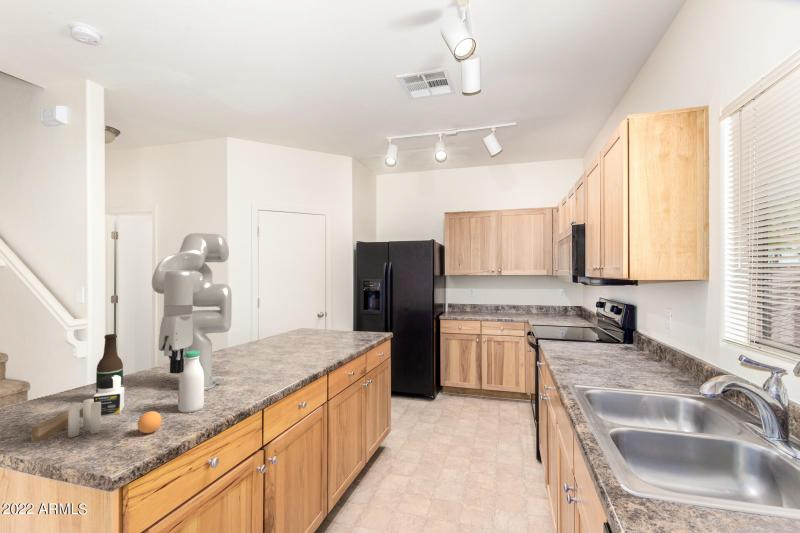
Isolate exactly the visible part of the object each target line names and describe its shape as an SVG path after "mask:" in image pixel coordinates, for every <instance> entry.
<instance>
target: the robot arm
mask: <svg viewBox="0 0 800 533" xmlns="http://www.w3.org/2000/svg"><path fill="white" fill-rule="evenodd" d="M229 254H230V250H229V245H228V242H227V240H226V238H225V237H224V236H223V235H221V234H218V233H200V232H199V233H198V232H195V233H193V232H192V233H190V234H187V235H186V236H185V237H184V238H183V240H182V243H181V246H180V249H179V250H178V252H177V253H174V254H172V255H170V256H167V257H165V258H164V259H161V261H160V262H158V264H157V265H156V268H155V270H154V271H153V274H152V277H151V287H152V289H153V291H154V292H155V293H158V294H161V295H163V316H162V317H161V323H160V328H159V335H158V336H159V337H158V350H159V351H160V352H162V351H163V356H164V357H168V360H169V374H180V373H182V372H183V371H184V363H185V353H186V352H187V351H193V350H196V351H199V352H200V355H199V362H200V365H201V367H202V369H203V372H204V391H207V390H210V389H212V388H215V386H216V382H218V381H219V382H222V381H224V380H225V379H224V377H225V376H224V375H220V374H219V375H213V373H212V366H213V364H212V363H213V361H212V360H213V344H212V341H211V339H210V338H209V337H208V336H207V335H206V334H219V333H227V332H229V331H231V330H230V329H231V326H232V306H233V304H232V303H233V300H232V297H233V296H232V289H231V287H230V286H229V285H228V284H225V283H213V270H212V269H211V268H210V267H209V265H208V264H207V263H217V264H218V263H219V264H220V263H225V262H227V260H229V256H230V255H229ZM194 307H197V308H208V307H211V308H212V307H213V308H214V307H216V308H219V309H199V310H193V308H194Z"/></svg>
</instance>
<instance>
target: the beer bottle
mask: <svg viewBox="0 0 800 533" xmlns="http://www.w3.org/2000/svg"><path fill="white" fill-rule="evenodd" d="M117 337H118V334H114V333H109V334H105V335H104V348H103V355H102V358H100V360H99V361H98V363H97V365H96V373H95V374H96V375H95V377H96V380H95V381H96V382H95V384H96V385H95V394H96V393H97V392H98V380H99V379H100V378H102V377H105V376H110V375H118V376H120V377H121V387H124V382H123V381H124V363H123V360H122V359H121V358H120V357H119V356H118V351H117V350H118V349H117Z"/></svg>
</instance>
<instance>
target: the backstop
mask: <svg viewBox="0 0 800 533" xmlns="http://www.w3.org/2000/svg"><path fill="white" fill-rule="evenodd" d="M68 416H69V410H67V411H65V412H63V413H61V414H57V415H55V416H53V417H50V418H48V419H46V420H43V421H42V422H39V423H37V424H35V425H33V426H31V441H33V442H39V441H41V440H43V439H45V438H48V437H50V436H53V434H56V433H58V432H60V431H62V430H64V429H68Z"/></svg>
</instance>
